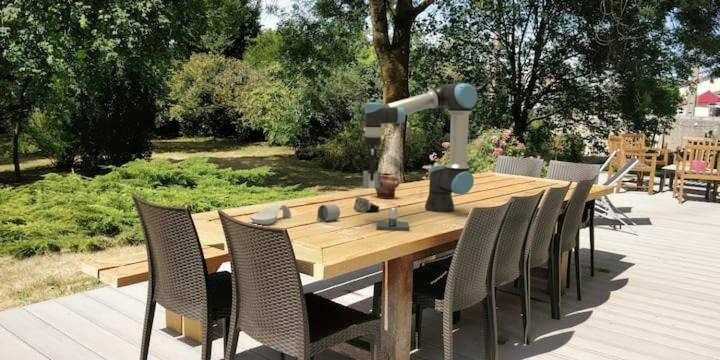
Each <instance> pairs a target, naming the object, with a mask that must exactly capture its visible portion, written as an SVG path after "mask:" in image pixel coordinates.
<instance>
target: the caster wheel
mask: <svg viewBox="0 0 720 360" xmlns="http://www.w3.org/2000/svg"><path fill="white" fill-rule="evenodd" d="M379 209H380V206H379V205H376V204H374V203H373V202H370V200H369V199H368V198H367V199H366V198H363V197H361V196H360V197H359V196H356V198H355V201H354V205H353V209H352V210H354V211H357V212H361V213H364V214H365V213H367V211H369V212H379V211H380V210H379Z"/></svg>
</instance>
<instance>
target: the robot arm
mask: <svg viewBox="0 0 720 360" xmlns="http://www.w3.org/2000/svg"><path fill="white" fill-rule="evenodd" d="M477 102H478V93H477V90H476V89H475V87H474V86H473V85H472V84H469V83H466V82H465V83H464V82H461V83H447V84H444V85H440V86H437V87H434V88H432V89H428V91H426V92H425V93H422V94H418V95H414V96H411V97H408V98H403V99H401V100H397V101H393V102H390V103H386V104H382V103H381V102H371V101H370V102H368V101H367V102H366V103H365V106H364V107H365V108H364V128H363V130H362V131H363V132H364V141H363V142H364V146H369V149H368V150H367V153H368V160H369V164H368V165H369V167H368V168H369V169H368V171H369V172H368V173H369V188H368V189H375V171H377V168H376V159H377V154H378V149H377V148H376V146H379V147H380V146H381V145H382V138H381V136H382V124H397V125H398V124H403V123H404V122H405V120H406V115H408V114H413V113H416V112H420V111H423V110H427V109H430V108H431V109H439V108H447V111H448V113H449V114H450V129H449V130H450V131H449V132H450V133H449V157H448V160H449V161H448V163H447V165H432V166H431V167H430V169H429V170H430V171H429V187H428V189H429V190H428V191H429V192H428V196H427V199H426V201H425V204H424V209H425V210H426V211H430V212H431V211H432V212H437V213H439V212H440V213H447V212H448V213H449V212H453V211H455V204H454V200H453V196H452V194H455V195H466V194H467V193H469V192H470V191H471V190H472V188H473V186H474V182H475V179H474V175H473V174H472V173H471V172H470V166H469V164H468V138H469V117H470V115H471V114H472V112H473V107H474V106H475V105H476V104H477Z"/></svg>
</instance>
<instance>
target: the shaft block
mask: <svg viewBox="0 0 720 360" xmlns="http://www.w3.org/2000/svg"><path fill="white" fill-rule="evenodd" d="M388 211H389V212H388V213H389V214H388V220H376V231H393V232H395V231H399V232H410V225H409V224H410V223H409V222H408V221H397V220H398V217H397V216H398V208H397V207H389V208H388Z"/></svg>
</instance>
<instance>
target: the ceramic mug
mask: <svg viewBox="0 0 720 360" xmlns="http://www.w3.org/2000/svg"><path fill="white" fill-rule="evenodd" d="M340 215H341V209H340V207H339V206H338V205H337V204H321V205H320V206H318V208H317V214H316V216H317V219H319V220H320V221H321V222H322V221H323V222H330V221H336V220H338V219H339V218H340Z"/></svg>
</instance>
